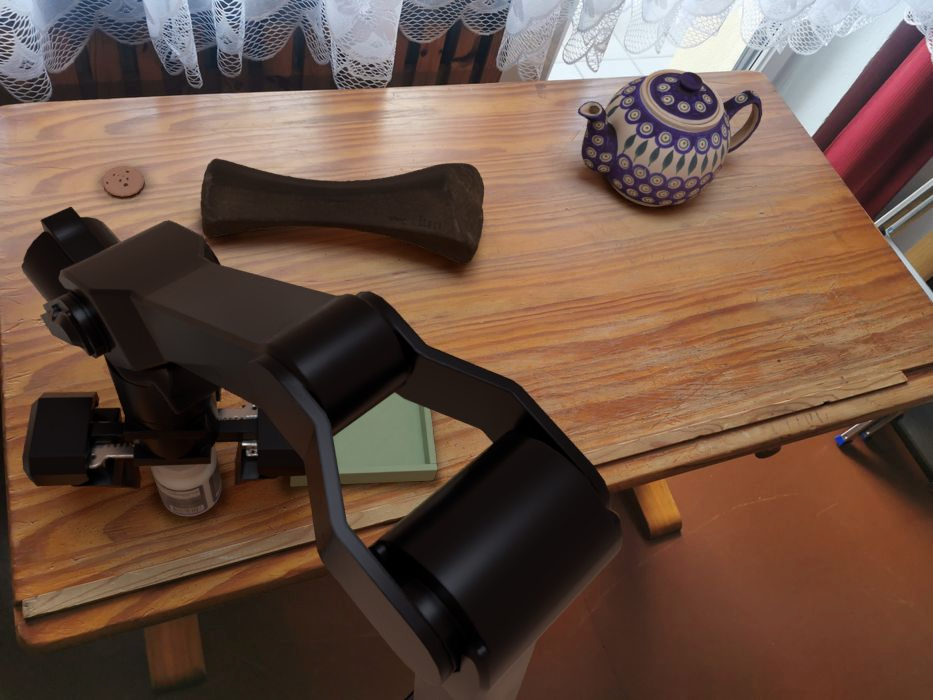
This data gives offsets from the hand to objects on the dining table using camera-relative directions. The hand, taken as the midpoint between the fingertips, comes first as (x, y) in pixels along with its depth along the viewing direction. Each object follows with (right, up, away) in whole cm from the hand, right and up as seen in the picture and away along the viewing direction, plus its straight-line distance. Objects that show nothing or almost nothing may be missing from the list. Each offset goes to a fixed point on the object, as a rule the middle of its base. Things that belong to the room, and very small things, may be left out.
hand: (188, 480), depth 62 cm
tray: (+12, +4, +8) cm, 15 cm away
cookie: (-12, +27, +17) cm, 34 cm away
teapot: (+43, +32, +33) cm, 63 cm away
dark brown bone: (+10, +22, +19) cm, 30 cm away
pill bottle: (0, -1, +2) cm, 2 cm away
